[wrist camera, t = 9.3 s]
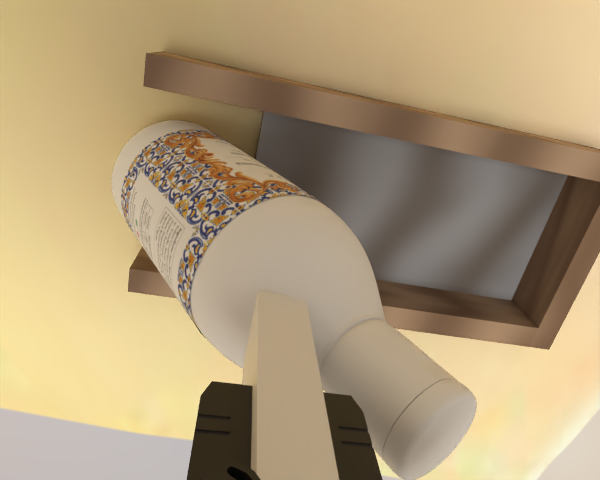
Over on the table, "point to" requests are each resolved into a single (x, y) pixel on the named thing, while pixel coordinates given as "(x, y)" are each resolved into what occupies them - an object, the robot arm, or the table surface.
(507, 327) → the brown wooden tray
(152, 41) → the table surface
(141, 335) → the table surface
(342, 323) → the bath foam
